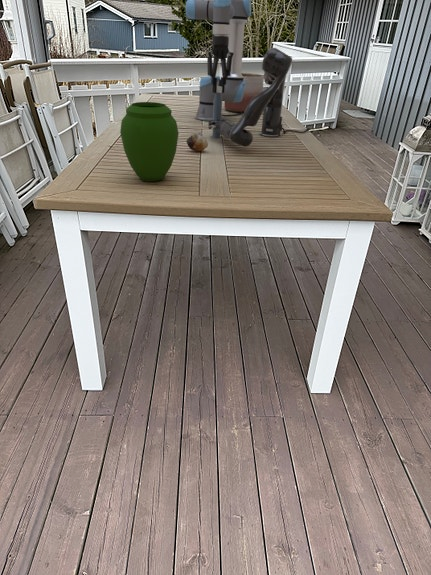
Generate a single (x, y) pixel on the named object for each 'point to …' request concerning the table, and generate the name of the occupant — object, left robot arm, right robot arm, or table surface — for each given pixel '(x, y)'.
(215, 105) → the bottle
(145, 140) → the vase
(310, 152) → the table surface
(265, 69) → the right robot arm
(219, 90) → the cap
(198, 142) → the seashell
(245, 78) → the planter
